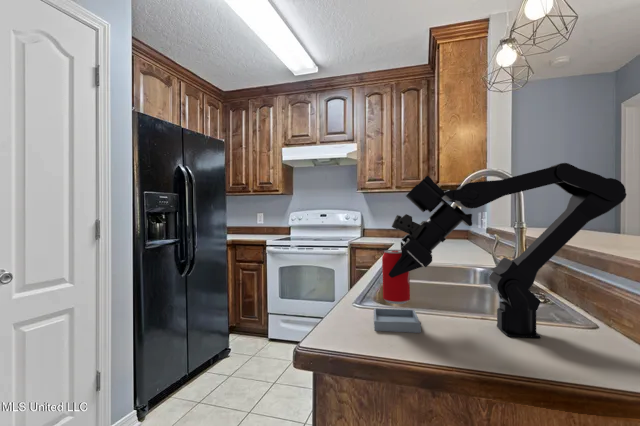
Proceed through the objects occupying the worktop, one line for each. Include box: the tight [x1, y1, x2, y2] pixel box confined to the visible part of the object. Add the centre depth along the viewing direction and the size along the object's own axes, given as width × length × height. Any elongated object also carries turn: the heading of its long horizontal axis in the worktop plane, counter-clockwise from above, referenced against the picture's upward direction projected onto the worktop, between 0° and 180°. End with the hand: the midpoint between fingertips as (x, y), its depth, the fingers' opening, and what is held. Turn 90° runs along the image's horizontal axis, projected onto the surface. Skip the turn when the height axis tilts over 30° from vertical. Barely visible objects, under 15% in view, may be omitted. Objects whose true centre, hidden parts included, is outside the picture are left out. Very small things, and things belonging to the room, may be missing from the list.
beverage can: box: [381, 249, 411, 305], centre depth 77 cm, size 6×6×12 cm
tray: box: [373, 307, 422, 334], centre depth 77 cm, size 10×10×2 cm
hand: (390, 273), depth 77 cm, fingers closed on beverage can, 6 cm apart
